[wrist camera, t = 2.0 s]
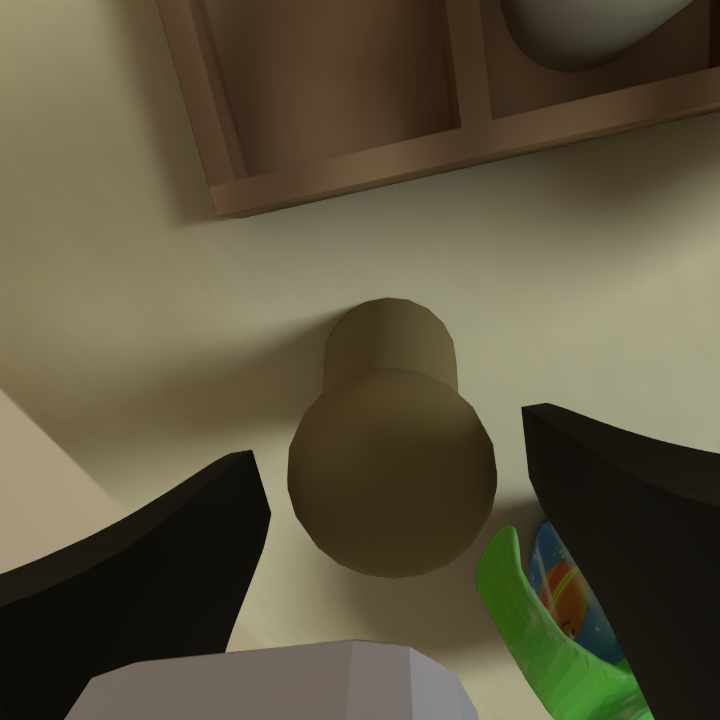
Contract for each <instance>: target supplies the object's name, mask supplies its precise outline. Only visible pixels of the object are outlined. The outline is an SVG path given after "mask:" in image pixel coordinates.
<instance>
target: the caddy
mask: <svg viewBox="0 0 720 720" xmlns="http://www.w3.org/2000/svg"><path fill="white" fill-rule="evenodd" d="M157 4H158V8H159V11H160V15H161V18H162V22H163V25H164V29H165V33H166V36H167V40H168V43H169V47H170V50H171V54H172V58H173V61H174V65H175V68H176V72H177V75H178V79H179V83H180V86H181V90H182V93H183V97H184V100H185V104H186V108H187V111H188V115H189V118H190V122H191V125H192V129H193V133H194V136H195V140H196V143H197V147H198V150H199V154H200V158H201V161H202V165H203V168H204V172H205V175H206V179H207V182H208V186H209V190H210V193H211V197H212V200H213V204H214V207H215V211H216V215H217V216H223V217H234V218H245V217H249V216H254V215H258V214H263V213H267V212H272V211H276V210H281V209H285V208H289V207H294V206H298V205H303V204H307V203H312V202H316V201H321V200H325V199H329V198H334V197H338V196H343V195H347V194H352V193H356V192H361V191H365V190H369V189H374V188H378V187H383V186H387V185H392V184H396V183H401V182H405V181H409V180H414V179H418V178H423V177H427V176H432V175H436V174H441V173H445V172H449V171H454V170H458V169H463V168H467V167H472V166H476V165H481V164H485V163H489V162H494V161H498V160H503V159H507V158H512V157H516V156H521V155H525V154H529V153H534V152H538V151H543V150H547V149H552V148H556V147H561V146H565V145H569V144H574V143H578V142H583V141H587V140H592V139H596V138H601V137H605V136H609V135H614V134H618V133H623V132H627V131H632V130H636V129H641V128H645V127H649V126H654V125H658V124H663V123H667V122H672V121H676V120H681V119H685V118H689V117H694V116H698V115H703V114H707V113H712V112H716V111H720V0H693V1H692V2H690V3H689V4H688V5H687V6H685V7H684V8H683V9H681V10H680V11H679V12H677V13H676V14H675V15H673V16H672V17H671V18H669V19H668V20H667V21H665V22H664V23H663V24H662V25H660V26H659V27H658V28H656V29H655V30H654V31H652V32H651V33H650V34H648V35H647V36H646V37H644V38H643V39H642V40H641V41H639V42H638V43H637V44H635V45H634V46H633V47H631V48H630V49H629V50H627V51H626V52H625V53H623V54H622V55H621V56H619V57H618V58H616V59H614V60H613V61H611V62H609V63H607V64H605V65H603V66H601V67H598V68H595V69H592V70H588V71H583V72H570V73H567V72H559V71H555V70H551V69H548V68H545V67H543V66H541V65H539V64H537V63H536V62H534V61H533V60H531V59H530V58H529V57H528V56H526V55H525V54H524V53H523V52H522V51H521V50H520V48H519V47H518V46H517V45H516V43H515V42H514V40H513V38H512V37H511V35H510V33H509V31H508V29H507V26H506V24H505V21H504V17H503V13H502V8H501V2H500V0H157Z"/></svg>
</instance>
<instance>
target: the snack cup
mask: <svg viewBox="0 0 720 720" xmlns="http://www.w3.org/2000/svg"><path fill="white" fill-rule="evenodd" d="M535 540H536V541H535V544H534V546H533V549H532V553H531V558H530V564H529V571H530V578H531V585H532V587H531V585H530V584H529V582H528V580H527V578H526V577H525V575H524V573H523V571H522V568H521V561H520V548H519V542H518V536H517V532H516V530H515V528H514V527H513V526H510V525H506V526H505V527H503V528H502V529H500V530H499V531H498V532H497V533H496V534H495V535H494V537H493V539H492V541H491V542H490V543H489V544H488V546H487V547H486V549H485V551H484V552H483V554H482V556H481V559H480V561H479V564H478V567H477V572H476V583H477V588H478V591H479V593H480V595H481V597H482V599H483V601H484V604H485V606H486V608H487V610H488V611H489V613H490V615H491V617H492V619H493V621H494V622H495V624H496V626H497V628H498V630H499V632H500V634H501V635H502V637H503V639H504V641H505V643H506V645H507V647H508V648H509V650H510V652H511V654H512V656H513V657H514V659H515V661H516V663H517V665H518V667H519V668H520V670H521V671H522V673H523V675H524V677H525V679H526V680H527V682H528V683H529V685H530V686H531V688H532V689H533V691H534V692H535V694H536V695H537V697H538V698H539V699H540V701H541V702H542V704H543V705H544V707H545V708H546V710H547V711H548V712H549V714H550V715H551V716H552V717H553V718H554V719H555V720H654V718H653V716H652V713H651V711H650V709H649V707H648V704H647V702H646V700H645V698H644V696H643V694H642V691H641V689H640V687H639V685H638V683H637V681H636V678H635V676H634V674H633V672H632V670H631V668H630V666H629V663H628V661H627V659H626V657H625V655H624V653H623V651H622V648H621V646H620V644H619V642H618V640H617V638H616V636H615V634H614V632H613V630H612V628H611V626H610V624H609V622H608V620H607V618H606V615H605V613H604V611H603V609H602V607H601V605H600V604H599V602H598V600H597V598H596V596H595V595H594V593H593V591H592V589H591V587H590V586H589V584H588V582H587V581H586V579H585V578H584V576H583V574H582V573H581V571H580V570H579V568H578V566H577V565H576V563H575V561H574V560H573V558H572V557H571V555H570V553H569V552H568V550H567V548H566V547H565V545H564V544H563V542H562V540H561V539H560V537H559V535H558V534H557V532H556V531H555V529H554V527H553V526H552V524H551V522H550V521H548V522H547V523H543V524H542V525H541V527H540V529H539V531H538V533H537V535H536V538H535Z"/></svg>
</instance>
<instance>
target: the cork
mask: <svg viewBox="0 0 720 720" xmlns="http://www.w3.org/2000/svg"><path fill="white" fill-rule="evenodd" d="M287 482H288V492H289V495H290V499H291V502H292V505H293V509H294V512H295V515H296V517H297V519H298V520H299V521H300V523H301V524H302V526H303V527H304V529H305V530H306V531H307V533H308V534H309V536H310V537H311V538H312V540H313V541H314V543H315V544H316V546H317V547H318V548H319V549H321V550H322V551H323V552H324V553H326V554H327V555H328V556H330V557H331V558H332V559H334V560H335V561H336V562H337V563H339V564H340V565H343V566H345V567H348V568H350V569H353V570H355V571H358V572H360V573H362V574H365V575H372V576H379V577H387V578H401V577H409V576H417V575H423V574H425V573H428V572H430V571H432V570H435V569H437V568H440V567H442V566H445V565H447V564H449V563H450V562H451V561H452V560H454V559H455V558H456V557H457V556H459V555H460V554H461V553H462V552H463V551H465V550H466V549H467V548H468V547H469V546H470V545H471V544H472V542H473V541H474V540H475V538H476V537H477V535H478V533H479V532H480V530H481V529H482V527H483V526H484V524H485V523H486V521H487V519H488V518H489V516H490V515H491V511H492V506H493V502H494V497H495V493H496V488H497V470H496V463H495V456H494V449H493V443H492V442H491V440H490V438H489V436H488V434H487V432H486V430H485V428H484V427H483V425H482V423H481V421H480V419H479V418H478V416H477V414H476V412H475V410H474V408H473V407H472V406H471V405H470V404H469V403H468V402H467V401H466V400H465V399H463V398H462V397H461V396H460V395H459V394H458V381H457V366H456V357H455V350H454V344H453V340H452V338H451V336H450V335H449V333H448V331H447V329H446V327H445V325H444V323H443V322H442V321H441V320H439V319H438V318H437V317H436V316H435V315H434V314H433V313H432V312H431V311H430V310H429V309H427V308H425V307H423V306H421V305H419V304H416V303H414V302H412V301H410V300H405V299H396V298H382V299H378V300H373V301H368V302H365V303H363V304H361V305H360V306H358V307H356V308H354V309H353V310H351V311H349V312H348V313H347V314H346V315H345V316H344V317H343V318H342V319H341V320H340V321H339V323H338V324H337V325H336V326H335V327H334V329H333V331H332V333H331V336H330V338H329V340H328V343H327V345H326V353H325V365H324V384H323V394H322V395H321V396H320V397H319V398H318V399H317V400H316V401H315V402H314V403H313V404H312V405H311V406H310V407H309V408H308V409H307V411H306V412H305V414H304V416H303V418H302V420H301V422H300V424H299V426H298V429H297V431H296V433H295V436H294V438H293V440H292V442H291V445H290V447H289V458H288V474H287Z"/></svg>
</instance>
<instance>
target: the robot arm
mask: <svg viewBox="0 0 720 720" xmlns="http://www.w3.org/2000/svg"><path fill="white" fill-rule="evenodd" d="M521 409H522V418H523V427H524V436H525V445H526V454H527V464H528V473H529V479H530V481H531V483H532V486H533V488H534V490H535V493H536V495H537V497H538V500H539V502H540V504H541V506H542V508H543V511H544V512H545V514H546V516H547V517H548V519H549V521H550V522H551V524H552V526H553V527H554V529H555V531H556V532H557V534H558V535H559V537H560V539H561V540H562V542H563V544H564V545H565V547H566V548H567V550H568V552H569V553H570V555H571V557H572V558H573V560H574V561H575V563H576V565H577V566H578V568H579V570H580V571H581V573H582V574H583V576H584V578H585V579H586V581H587V582H588V584H589V586H590V587H591V589H592V591H593V593H594V595H595V596H596V598H597V600H598V602H599V604H600V605H601V607H602V609H603V611H604V613H605V615H606V618H607V620H608V622H609V624H610V626H611V628H612V630H613V632H614V634H615V636H616V638H617V640H618V642H619V644H620V646H621V648H622V651H623V653H624V655H625V657H626V659H627V661H628V663H629V666H630V668H631V670H632V672H633V674H634V676H635V678H636V681H637V683H638V685H639V687H640V689H641V691H642V694H643V696H644V698H645V700H646V702H647V704H648V707H649V709H650V711H651V713H652V716H653V718H654V720H720V454H718V453H713V452H708V451H703V450H698V449H694V448H689V447H685V446H680V445H676V444H672V443H667V442H664V441H660V440H656V439H652V438H649V437H646V436H643V435H639V434H636V433H633V432H629V431H626V430H623V429H620V428H617V427H614V426H611V425H608V424H605V423H603V422H600V421H597V420H594V419H592V418H589V417H586V416H584V415H581V414H578V413H576V412H573V411H570V410H568V409H565V408H562V407H559V406H556V405H553V404H549V403H543V404H536V405H530V406H524V407H521ZM270 518H271V511H270V508H269V504H268V501H267V498H266V494H265V491H264V488H263V484H262V481H261V478H260V474H259V471H258V468H257V464H256V461H255V458H254V454H253V451H252V450H247V451H241V452H235V453H230V454H228V455H226V456H224V457H222V458H220V459H218V460H216V461H215V462H213V463H211V464H210V465H208V466H207V467H205V468H204V469H202V470H200V471H199V472H197V473H196V474H194V475H193V476H191V477H190V478H188V479H187V480H185V481H184V482H182V483H181V484H179V485H178V486H176V487H175V488H173V489H171V490H170V491H168V492H167V493H165V494H163V495H162V496H160V497H159V498H157V499H155V500H154V501H152V502H150V503H149V504H147V505H146V506H144V507H142V508H141V509H139V510H137V511H136V512H134V513H132V514H131V515H129V516H127V517H125V518H124V519H122V520H120V521H118V522H116V523H114V524H112V525H111V526H109V527H107V528H105V529H103V530H101V531H99V532H97V533H95V534H93V535H91V536H89V537H87V538H85V539H83V540H81V541H78V542H76V543H74V544H72V545H69V546H67V547H65V548H63V549H61V550H58V551H56V552H54V553H52V554H49V555H47V556H45V557H43V558H41V559H38V560H36V561H33V562H31V563H28V564H26V565H23V566H21V567H18V568H16V569H13V570H11V571H8V572H5V573H2V574H0V720H479V719H478V714H477V710H476V708H475V707H474V705H473V703H472V701H471V700H470V698H469V696H468V694H467V693H466V691H465V689H464V687H463V685H462V684H461V682H460V680H459V678H458V677H457V675H456V673H455V672H453V671H451V670H449V669H448V668H446V667H444V666H442V665H441V664H439V663H437V662H435V661H434V660H432V659H430V658H428V657H427V656H425V655H423V654H422V653H420V652H418V651H416V650H415V649H413V648H411V647H409V646H407V645H405V644H397V643H387V642H378V641H368V640H358V639H354V640H344V641H334V642H324V643H315V644H305V645H295V646H286V647H276V648H266V649H258V650H247V651H238V652H227V653H225V651H226V648H227V644H228V641H229V638H230V636H231V633H232V629H233V627H234V624H235V621H236V619H237V616H238V614H239V611H240V609H241V606H242V603H243V601H244V598H245V596H246V593H247V591H248V588H249V585H250V583H251V580H252V578H253V575H254V572H255V570H256V567H257V564H258V562H259V559H260V556H261V554H262V551H263V548H264V545H265V540H266V536H267V532H268V527H269V522H270Z"/></svg>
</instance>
